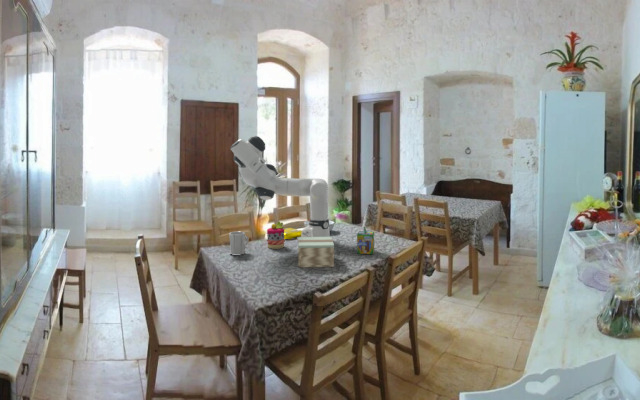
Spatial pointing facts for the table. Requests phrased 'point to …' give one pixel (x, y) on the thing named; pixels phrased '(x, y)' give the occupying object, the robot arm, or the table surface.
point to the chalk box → (365, 242)
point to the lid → (315, 242)
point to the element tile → (291, 233)
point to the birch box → (316, 257)
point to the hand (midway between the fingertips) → (277, 184)
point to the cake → (276, 236)
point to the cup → (238, 242)
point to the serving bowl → (331, 225)
